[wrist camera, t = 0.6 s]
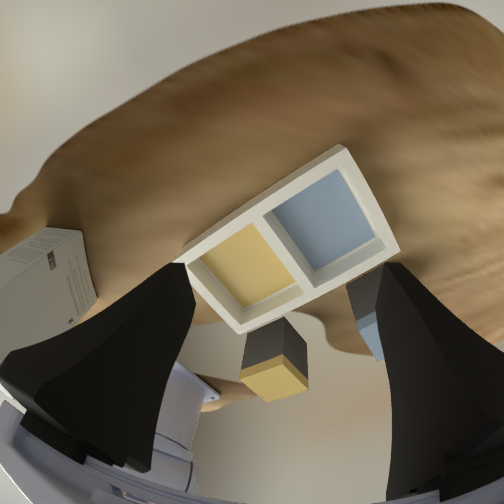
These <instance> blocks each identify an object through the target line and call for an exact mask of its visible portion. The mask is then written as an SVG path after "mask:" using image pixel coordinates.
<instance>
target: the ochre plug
mask: <svg viewBox="0 0 504 504" xmlns="http://www.w3.org/2000/svg"><path fill="white" fill-rule="evenodd" d="M239 380H240V381H241V382H243V383H244V384H245V385H246V386H247V387H249V388H250V389H251V390H252V391H253V392H255V393H256V394H257V395H258V396H260V397H261V398H262V399H263V400H265V401H266V402H267V403H268V402H272V401H275V400H278V399H282V398H284V397H288V396H291V395H294V394H297V393H300V392H303V391H306V390H308V364H307V343H306V342H305V341H304V339H303V338H302V337H301V336H300V335H299V334H298V332H297V331H296V330H295V329H294V328H293V326H292V325H291V324H290V323H289V322H288V320H287V319H286V318H285V317H282V318H280V319H278V320H276V321H273V322H271V323H269V324H267V325H265V326H263V327H261V328H258V329H256V330H254V331H252V332H250V333H247V339H246V344H245V350H244V356H243V361H242V366H241V372H240V377H239Z"/></svg>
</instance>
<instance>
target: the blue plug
mask: <svg viewBox="0 0 504 504" xmlns="http://www.w3.org/2000/svg"><path fill="white" fill-rule="evenodd" d="M386 263H389V262H386ZM383 266H384V264H383V265H381V266H380V267H378V268H376V269H374V270H373V271H371V272H369V273H367V274H365V275H364V276H362V277H360V278H358V279H356V280H355V281H353V282H351V283H349V284H347V285H346V288H347V291H348V295H349V298H350V302H351V305H352V309H353V313H354V316H355V320H356V324H357V328H358V331H359V333H360V334H361V336H362V338H363V339H364V341H365V342H366V344H367V346H368V347H369V349H370V351H371V352H372V354H373V355H374V357H375V359H376V360H377V362H378V361H380V360H382V359H384V355H383V350H382V346H381V341H380V337H379V333H378V327H377V319H376V310H375V304H376V300H377V296H378V291H379V286H380V281H381V276H382V271H383Z"/></svg>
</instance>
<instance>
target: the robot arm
mask: <svg viewBox="0 0 504 504" xmlns="http://www.w3.org/2000/svg"><path fill="white" fill-rule="evenodd" d="M195 306H196V302H195V298H194V295H193V291H192V288H191V284H190V281H189V277H188V274H187V270H186V266H185V263H171V262H170V263H169V264H167V265H165V266H164V267H162V268H161V269H159V270H158V271H157V272H155V273H154V274H153V275H151V276H150V277H149V278H147V279H146V280H145V281H143V282H142V283H141V284H139V285H138V286H137V287H135V288H134V289H133V290H131V291H130V292H129V293H127V294H126V295H124V296H123V297H121V298H120V299H119V300H117V301H116V302H114V303H113V304H112V305H110V306H109V307H107V308H106V309H104V310H103V311H101V312H100V313H98V314H96V315H95V316H93V317H91V318H90V319H88V320H86V321H85V322H83V323H81V324H79V325H77V326H75V327H73V328H71V329H69V330H67V331H65V332H63V333H61V334H59V335H57V336H54V337H52V338H50V339H47V340H44V341H42V342H39V343H36V344H33V345H30V346H27V347H24V348H20V349H17V350H13V351H11V352H10V353H9V354H8V355H7V356H6V357H5V359H4V360H3V362H2V363H1V365H0V384H1V385H2V386H3V387H4V388H5V389H6V390H7V391H8V392H9V393H10V394H11V395H12V396H13V397H14V398H15V399H16V400H17V401H18V402H19V403H20V404H21V405H22V406H23V407H25V408H26V409H27V411H26V413H25V414H23V413H22V412H20V411H19V410H18V409H16V408H15V407H14V406H12V405H11V404H10V403H9V402H7V401H6V400H4V401H3V403H2V405H1V406H0V466H1V467H2V468H3V470H4V471H5V472H6V473H7V475H8V476H9V477H10V479H11V480H12V481H13V482H14V484H15V485H16V486H17V487H18V489H19V490H20V491H21V492H22V493H23V495H24V496H25V497H26V498H27V499H28V500H29V501H30V503H31V504H245V503H238V502H231V501H226V500H220V499H214V498H210V497H205V496H200V495H196V492H197V490H198V486H199V482H200V468H199V466H198V464H197V462H196V461H193V460H192V457H193V452H190V448H191V444H192V441H193V437H194V433H195V430H196V426H197V422H198V419H199V415H200V411H201V408H202V404H203V403H206V402H210V401H213V400H217V399H220V396H221V395H220V394H219V393H217V392H216V391H215V390H214V389H212V388H211V387H210V386H209V385H207V384H206V383H205V382H204V381H202V380H201V379H200V378H199V377H197V376H196V375H195V374H194V373H193V372H191V371H190V370H189V369H188V368H187V367H185V366H184V365H183V364H182V363H181V362H180V361H178V360H177V356H178V354H179V352H180V349H181V347H182V345H183V342H184V340H185V338H186V335H187V333H188V330H189V328H190V325H191V322H192V318H193V314H194V310H195ZM375 310H376V319H377V327H378V333H379V337H380V341H381V346H382V350H383V355H384V359H385V363H386V368H387V373H388V378H389V383H390V390H391V405H392V448H391V463H390V471H389V478H388V485H387V491H386V502H380V503H373V504H504V352H502V351H500V350H499V349H497V348H496V347H495V346H493V345H492V344H490V343H489V342H487V341H486V340H485V339H483V338H482V337H481V336H479V335H478V334H477V333H475V332H474V331H473V330H472V329H470V328H469V327H468V326H467V325H466V324H464V323H463V322H462V321H461V320H460V319H458V318H457V317H456V316H455V315H454V314H453V313H452V312H451V311H450V310H449V309H447V308H446V307H445V306H444V305H443V304H442V303H441V302H440V301H439V300H438V299H437V298H436V297H435V296H434V295H433V294H432V293H431V292H430V291H429V290H428V289H427V288H426V287H425V286H424V285H423V284H422V283H421V282H420V281H419V280H418V279H417V278H416V277H415V276H414V275H413V274H412V273H411V272H410V271H409V270H407V269H406V268H405V267H404V266H403V265H402V264H401V263H384V266H383V271H382V276H381V281H380V286H379V291H378V296H377V300H376V304H375ZM123 490H124V491H123ZM125 491H126V492H125ZM128 492H129V493H128ZM130 493H131V494H130ZM135 495H136V496H135ZM138 496H139V497H138ZM140 497H141V498H140ZM143 498H144V499H143ZM146 499H147V500H146ZM148 500H149V501H148ZM151 501H152V502H151ZM154 502H155V503H154Z"/></svg>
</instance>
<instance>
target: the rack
mask: <svg viewBox="0 0 504 504" xmlns="http://www.w3.org/2000/svg"><path fill="white" fill-rule="evenodd" d="M399 252H400V248H399V246H398V244H397V242H396V240H395V237H394V235H393V233H392V231H391V229H390V227H389V225H388V223H387V220H386V218H385V216H384V214H383V212H382V210H381V208H380V206H379V205H378V203H377V201H376V199H375V197H374V195H373V193H372V191H371V189H370V188H369V186H368V184H367V182H366V180H365V178H364V177H363V175H362V173H361V171H360V170H359V168H358V166H357V164H356V163H355V161H354V159H353V158H352V156H351V154H350V153H349V151H348V149H347V148H346V147H344V146H342V145H340V144H337V145H335V146H334V147H332V148H330V149H329V150H327V151H326V152H324V153H322V154H321V155H319V156H317V157H316V158H314V159H313V160H311V161H309V162H308V163H306V164H305V165H303V166H302V167H300V168H298V169H297V170H295V171H294V172H292V173H291V174H289V175H287V176H286V177H284V178H283V179H281V180H280V181H278V182H277V183H275V184H274V185H272V186H271V187H269V188H268V189H266V190H265V191H263V192H261V193H260V194H258V195H257V196H255V197H254V198H252V199H251V200H249V201H248V202H247V203H245V204H244V205H242V206H241V207H239V208H238V209H236V210H235V211H233V212H232V213H230V214H229V215H227V216H226V217H225V218H223V219H222V220H220V221H219V222H217V223H216V224H214V225H213V226H212V227H210V228H209V229H207V230H206V231H204V232H203V233H202V234H200V235H199V236H197V237H196V238H195V239H193V240H192V241H190V242H189V243H188V244H186V245H185V246H183V247H182V248H181V250H180V251H179V253H178V254H177V255H176V257H175V258H174V260H173V261H172V262H171V263H185V266H186V270H187V274H188V277H189V281H190V284H191V285H192V286H193V287H194V289H195V290H196V291H197V292H198V293H199V294H200V295H201V296H202V297H203V298H204V299H205V300H206V302H207V303H208V304H209V305H210V306H211V307H212V308H213V309H214V310H215V311H216V312H217V313H218V314H219V315H220V316H221V317H222V319H223V320H224V321H225V322H226V323H227V324H228V325H229V326H230V327H231V328H232V329H233V330H234V331H235V332H236V333H237V334H238V335H240V334H242V333H245V332H247V331H249V330H251V329H254V328H256V327H258V326H260V325H262V324H264V323H266V322H269V321H270V320H273V319H275V318H277V317H279V316H281V315H283V314H285V313H287V312H289V311H291V310H293V309H295V308H298V307H300V306H302V305H304V304H306V303H307V302H309V301H311V300H313V299H315V298H317V297H319V296H321V295H323V294H325V293H327V292H329V291H331V290H333V289H335V288H336V287H338V286H340V285H342V284H344V283H346V282H348V281H349V280H351V279H353V278H355V277H357V276H359V275H360V274H362V273H364V272H366V271H367V270H369V269H371V268H373V267H375V266H376V265H378V264H380V263H381V262H383V261H385V260H387V259H388V258H390V257H392V256H393V255H395V254H397V253H399Z"/></svg>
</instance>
